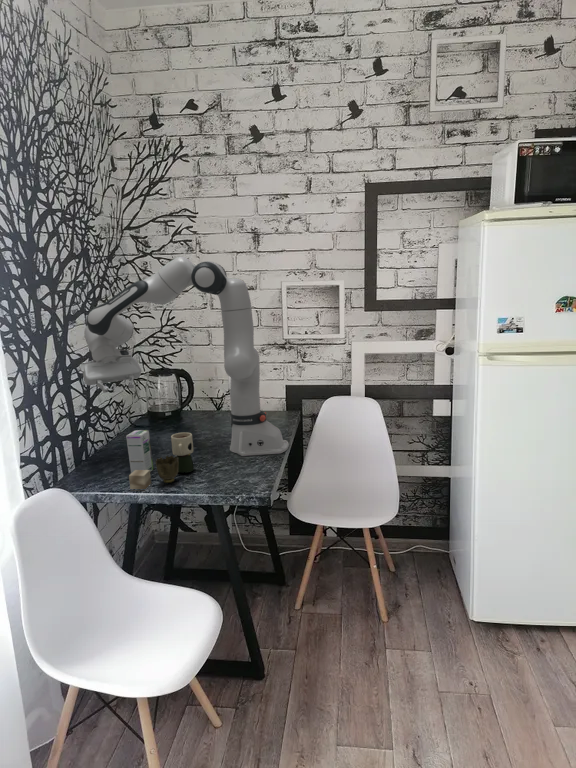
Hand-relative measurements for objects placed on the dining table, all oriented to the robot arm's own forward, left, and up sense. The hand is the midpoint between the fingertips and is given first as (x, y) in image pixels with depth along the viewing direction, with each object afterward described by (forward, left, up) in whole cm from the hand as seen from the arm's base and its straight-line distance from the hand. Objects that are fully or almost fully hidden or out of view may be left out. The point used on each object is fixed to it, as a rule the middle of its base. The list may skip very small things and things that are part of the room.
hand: (119, 389), depth 197 cm
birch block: (-15, +23, -28) cm, 39 cm away
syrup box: (-10, +10, -28) cm, 31 cm away
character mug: (-25, +9, -28) cm, 38 cm away
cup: (-23, +19, -28) cm, 40 cm away
